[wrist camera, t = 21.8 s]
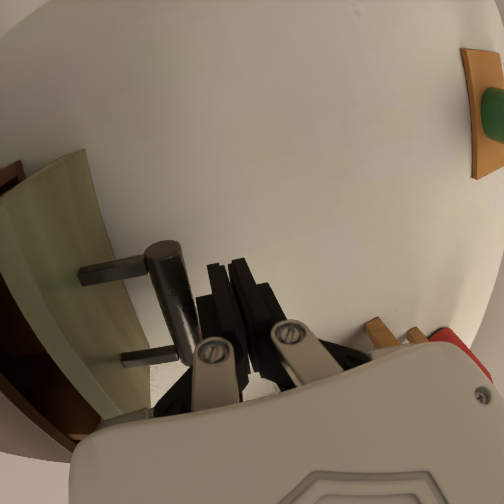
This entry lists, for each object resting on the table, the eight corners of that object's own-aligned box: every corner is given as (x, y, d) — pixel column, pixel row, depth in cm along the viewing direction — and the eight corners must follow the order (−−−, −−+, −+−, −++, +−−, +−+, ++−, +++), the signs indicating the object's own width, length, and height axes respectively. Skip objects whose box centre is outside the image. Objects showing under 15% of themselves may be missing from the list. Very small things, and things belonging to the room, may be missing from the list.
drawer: (166, 128, 12) (155, 159, 6) (207, 334, 19) (230, 435, 13) (-66, 214, 9) (-130, 278, 3) (11, 359, 16) (-11, 435, 10)
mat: (460, 48, 13) (465, 48, 13) (494, 52, 14) (499, 53, 13) (472, 178, 20) (476, 180, 19) (503, 162, 20) (507, 164, 20)
